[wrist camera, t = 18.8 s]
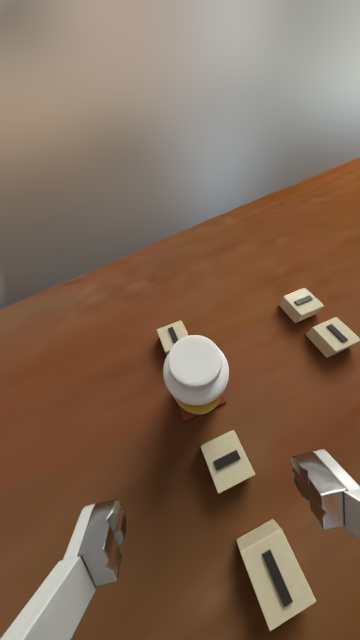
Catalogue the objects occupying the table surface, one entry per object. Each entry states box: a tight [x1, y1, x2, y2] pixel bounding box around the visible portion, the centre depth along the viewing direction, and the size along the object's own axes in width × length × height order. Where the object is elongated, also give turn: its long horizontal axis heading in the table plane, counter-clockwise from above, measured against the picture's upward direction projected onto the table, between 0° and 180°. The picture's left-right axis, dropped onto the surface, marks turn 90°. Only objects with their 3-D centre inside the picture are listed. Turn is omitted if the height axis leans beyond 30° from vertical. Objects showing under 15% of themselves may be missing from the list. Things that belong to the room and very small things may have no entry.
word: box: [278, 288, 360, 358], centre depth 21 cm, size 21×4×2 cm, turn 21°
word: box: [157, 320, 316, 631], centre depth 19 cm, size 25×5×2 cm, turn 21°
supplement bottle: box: [163, 335, 229, 415], centre depth 18 cm, size 6×6×10 cm
